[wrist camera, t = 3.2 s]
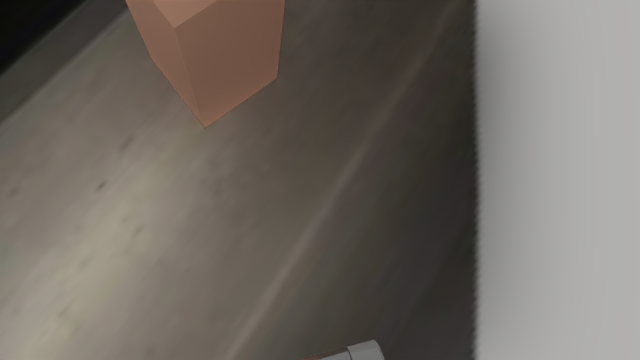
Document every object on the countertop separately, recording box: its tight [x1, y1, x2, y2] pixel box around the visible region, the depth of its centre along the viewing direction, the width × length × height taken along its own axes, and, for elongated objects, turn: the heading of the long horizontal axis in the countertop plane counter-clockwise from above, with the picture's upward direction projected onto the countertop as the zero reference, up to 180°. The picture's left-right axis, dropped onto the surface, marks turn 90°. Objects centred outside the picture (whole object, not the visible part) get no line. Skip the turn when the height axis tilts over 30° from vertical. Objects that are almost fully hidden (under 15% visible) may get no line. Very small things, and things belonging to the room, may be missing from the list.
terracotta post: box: [125, 0, 285, 128], centre depth 21 cm, size 4×4×10 cm
